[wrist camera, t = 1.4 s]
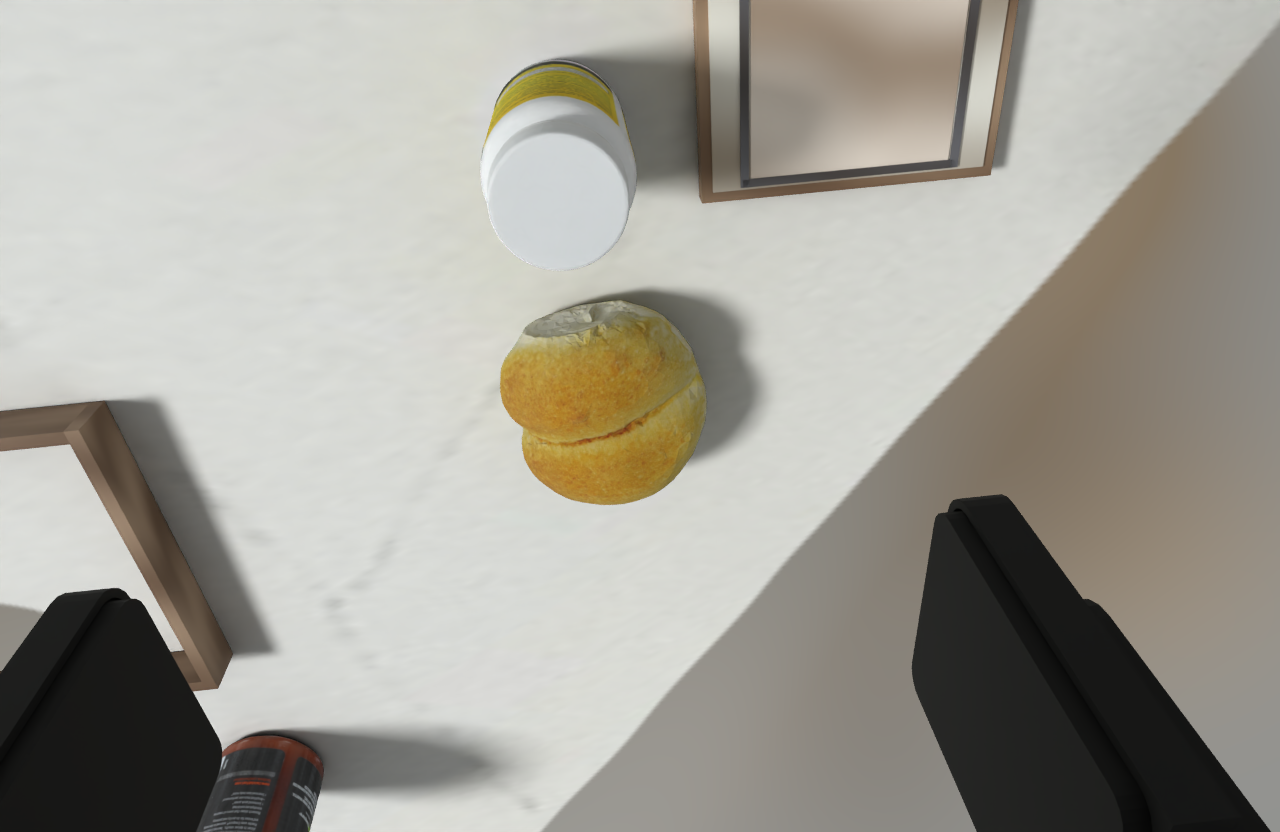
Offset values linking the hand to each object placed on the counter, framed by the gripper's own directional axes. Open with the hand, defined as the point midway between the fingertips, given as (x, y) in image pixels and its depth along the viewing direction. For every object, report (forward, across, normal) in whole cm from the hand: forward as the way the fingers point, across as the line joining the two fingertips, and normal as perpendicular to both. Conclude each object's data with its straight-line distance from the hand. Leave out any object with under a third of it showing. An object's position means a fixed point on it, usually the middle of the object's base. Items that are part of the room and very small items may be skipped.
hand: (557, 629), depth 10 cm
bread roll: (+24, -3, +13) cm, 28 cm away
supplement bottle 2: (+24, 0, 0) cm, 24 cm away
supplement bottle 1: (+24, +21, +34) cm, 46 cm away
